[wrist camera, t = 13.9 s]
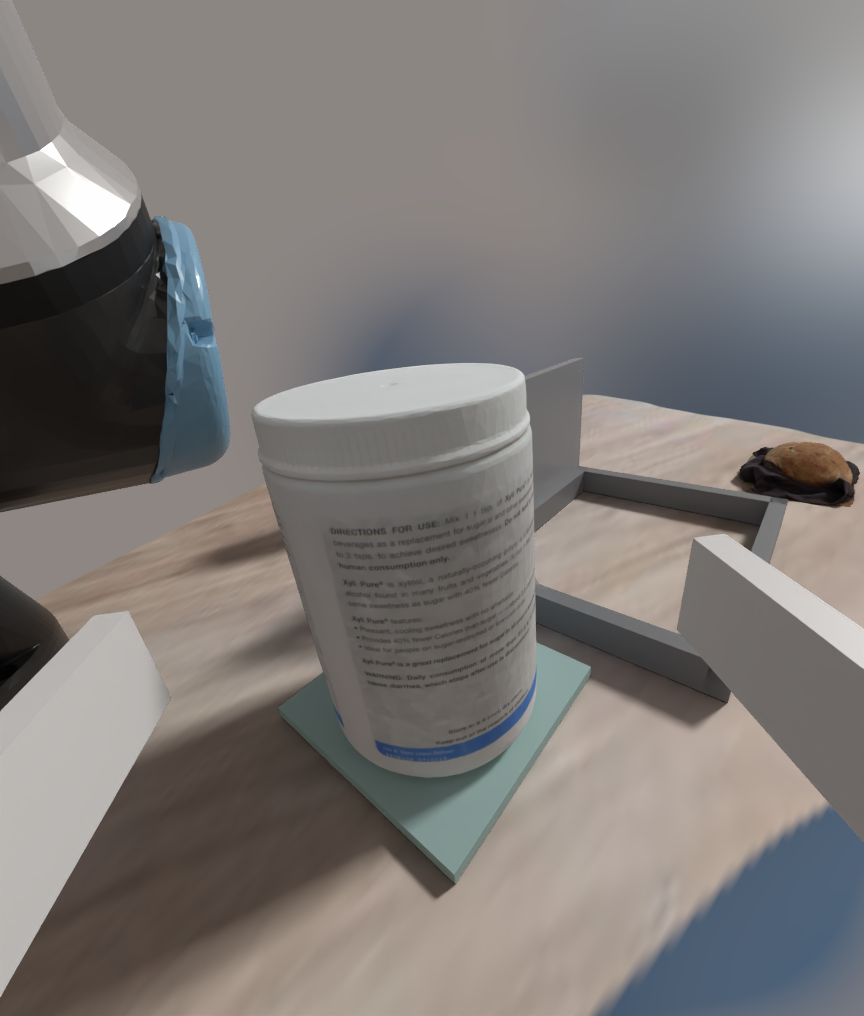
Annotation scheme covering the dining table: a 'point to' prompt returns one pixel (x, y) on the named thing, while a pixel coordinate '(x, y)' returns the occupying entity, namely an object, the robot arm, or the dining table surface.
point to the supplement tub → (413, 554)
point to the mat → (453, 799)
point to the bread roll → (801, 474)
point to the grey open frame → (563, 480)
